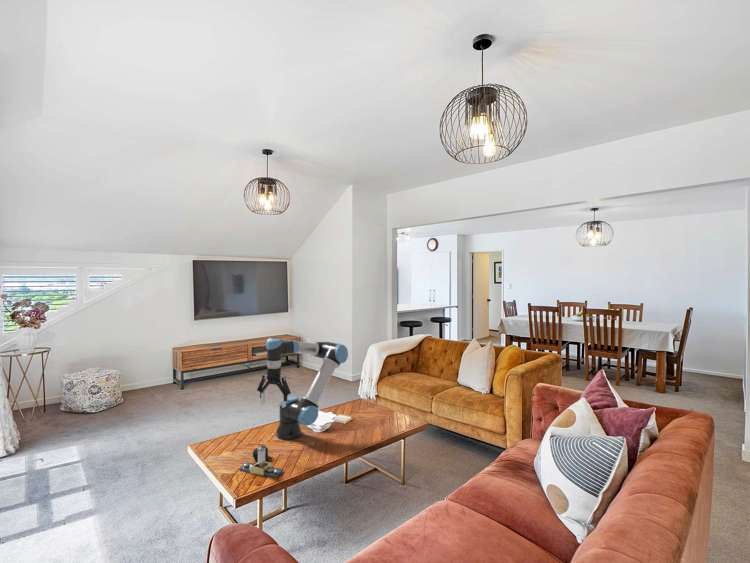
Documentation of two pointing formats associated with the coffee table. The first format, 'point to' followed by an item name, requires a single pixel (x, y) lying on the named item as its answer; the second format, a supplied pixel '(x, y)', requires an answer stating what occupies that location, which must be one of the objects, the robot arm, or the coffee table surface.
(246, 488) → the coffee table surface
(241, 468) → the chain ends
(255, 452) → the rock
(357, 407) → the coffee table surface
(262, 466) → the pin
